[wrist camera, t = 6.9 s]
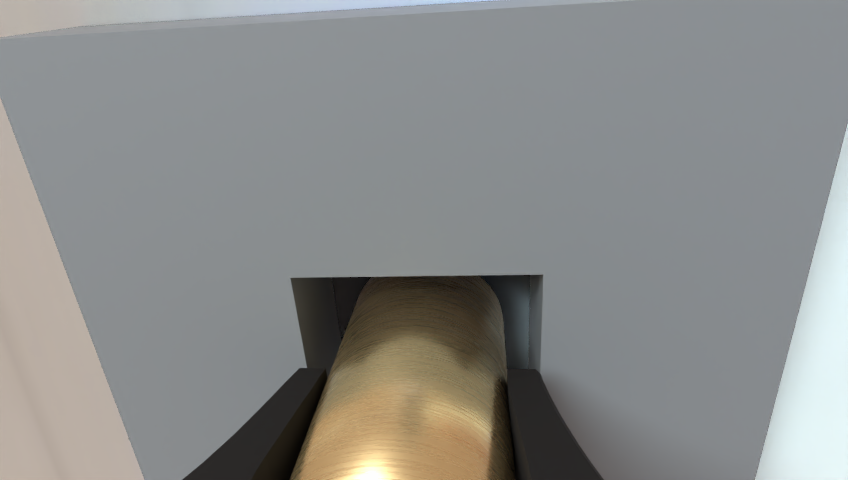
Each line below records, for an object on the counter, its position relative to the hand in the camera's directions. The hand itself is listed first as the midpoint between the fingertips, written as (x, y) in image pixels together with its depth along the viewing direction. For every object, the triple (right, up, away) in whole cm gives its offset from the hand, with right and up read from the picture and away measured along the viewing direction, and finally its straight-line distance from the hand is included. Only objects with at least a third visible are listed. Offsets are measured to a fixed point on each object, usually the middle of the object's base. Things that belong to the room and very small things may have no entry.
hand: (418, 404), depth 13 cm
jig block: (0, +2, +3) cm, 4 cm away
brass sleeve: (0, +1, +3) cm, 3 cm away
